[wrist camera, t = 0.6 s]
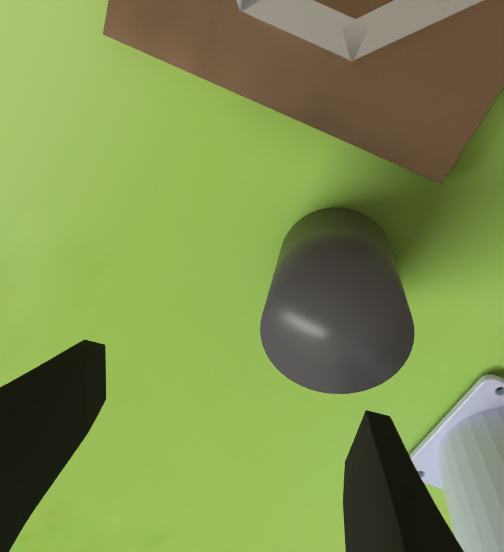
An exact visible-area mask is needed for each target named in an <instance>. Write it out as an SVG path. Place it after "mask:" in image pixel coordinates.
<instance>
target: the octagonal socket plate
mask: <svg viewBox="0 0 504 552" xmlns="http://www.w3.org/2000/svg"><path fill="white" fill-rule="evenodd" d="M103 34H104V35H106V36H108V37H110V38H113V39H115V40H117V41H120V42H122V43H124V44H126V45H129V46H131V47H133V48H135V49H138V50H140V51H142V52H144V53H147V54H149V55H151V56H153V57H156V58H158V59H160V60H162V61H165V62H167V63H169V64H171V65H174V66H176V67H178V68H180V69H183V70H185V71H187V72H190V73H192V74H194V75H196V76H199V77H201V78H203V79H205V80H208V81H210V82H212V83H214V84H217V85H219V86H221V87H223V88H226V89H228V90H230V91H232V92H235V93H237V94H239V95H241V96H244V97H246V98H248V99H250V100H253V101H255V102H257V103H260V104H262V105H264V106H266V107H269V108H271V109H273V110H275V111H278V112H280V113H282V114H284V115H287V116H289V117H291V118H293V119H296V120H298V121H300V122H302V123H305V124H307V125H309V126H311V127H314V128H316V129H318V130H320V131H323V132H325V133H327V134H330V135H332V136H334V137H336V138H339V139H341V140H343V141H345V142H348V143H350V144H352V145H354V146H357V147H359V148H361V149H363V150H366V151H368V152H370V153H372V154H375V155H377V156H379V157H381V158H384V159H386V160H388V161H390V162H393V163H395V164H397V165H400V166H402V167H404V168H406V169H409V170H411V171H413V172H415V173H418V174H420V175H422V176H424V177H427V178H429V179H431V180H433V181H436V182H438V183H440V184H442V182H443V180H444V179H445V177H446V176H447V174H448V173H449V171H450V170H451V168H452V166H453V165H454V163H455V162H456V160H457V159H458V157H459V155H460V154H461V152H462V151H463V149H464V148H465V146H466V144H467V143H468V141H469V140H470V138H471V137H472V135H473V134H474V132H475V130H476V129H477V127H478V126H479V124H480V123H481V121H482V119H483V118H484V116H485V115H486V113H487V112H488V110H489V108H490V107H491V105H492V104H493V102H494V101H495V99H496V97H497V96H498V94H499V93H500V91H501V90H502V88H503V87H504V0H109V2H108V8H107V13H106V19H105V25H104V31H103Z"/></svg>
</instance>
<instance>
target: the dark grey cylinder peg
mask: <svg viewBox="0 0 504 552" xmlns="http://www.w3.org/2000/svg"><path fill="white" fill-rule="evenodd" d="M260 333H261V340H262V344H263V347H264V350H265V352H266V354H267V356H268V357H269V359H270V361H271V362H272V363H273V365H274V366H275V367H276V368H277V369H278V370H279V371H280V372H281V373H282V374H283V375H285V376H286V377H287V378H289V379H290V380H292V381H293V382H295V383H297V384H299V385H301V386H303V387H306V388H308V389H311V390H315V391H319V392H324V393H331V394H349V393H355V392H360V391H364V390H368V389H370V388H373V387H376V386H378V385H380V384H382V383H384V382H385V381H387V380H388V379H390V378H391V377H392V376H393V375H394V374H396V373H397V372H398V371H399V370H400V368H401V367H402V366H403V365H404V363H405V362H406V360H407V359H408V357H409V355H410V352H411V350H412V346H413V342H414V324H413V320H412V316H411V313H410V309H409V306H408V303H407V299H406V296H405V293H404V290H403V286H402V283H401V280H400V276H399V273H398V270H397V267H396V263H395V260H394V257H393V253H392V250H391V247H390V243H389V241H388V239H387V236H386V235H385V233H384V231H383V230H382V229H381V228H380V226H379V225H378V224H377V223H376V222H375V221H373V220H372V219H371V218H369V217H368V216H366V215H364V214H362V213H360V212H357V211H354V210H350V209H345V208H328V209H322V210H319V211H315V212H313V213H311V214H309V215H307V216H305V217H303V218H302V219H301V220H299V221H298V222H297V223H296V224H295V225H294V226H293V227H292V228H291V229H290V231H289V232H288V233H287V235H286V237H285V239H284V241H283V244H282V247H281V251H280V254H279V258H278V261H277V265H276V268H275V272H274V275H273V279H272V282H271V286H270V290H269V293H268V297H267V300H266V304H265V307H264V311H263V314H262V319H261V326H260Z"/></svg>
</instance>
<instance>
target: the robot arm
mask: <svg viewBox="0 0 504 552" xmlns="http://www.w3.org/2000/svg"><path fill="white" fill-rule="evenodd" d="M499 387H503V388H502V389H500V390H496V389H497V388H499ZM105 400H106V361H105V345H104V344H100V343H96V342H92V341H88V340H83V341H81V342H79V343H78V344H76V345H74V346H72V347H71V348H69V349H67V350H66V351H64V352H62V353H60V354H59V355H57V356H55V357H54V358H52V359H50V360H48V361H47V362H45V363H43V364H42V365H40V366H38V367H36V368H35V369H33V370H31V371H29V372H27V373H26V374H24V375H22V376H20V377H19V378H17V379H15V380H13V381H11V382H10V383H8V384H6V385H4V386H2V387H0V552H9V550H10V549H11V547H12V545H13V544H14V542H15V540H16V538H17V537H18V535H19V533H20V531H21V530H22V528H23V526H24V525H25V523H26V522H27V520H28V519H29V517H30V515H31V514H32V512H33V511H34V509H35V508H36V506H37V505H38V504H39V502H40V501H41V499H42V498H43V496H44V495H45V494H46V492H47V491H48V489H49V488H50V487H51V485H52V484H53V482H54V481H55V479H56V478H57V477H58V475H59V474H60V472H61V471H62V470H63V468H64V467H65V465H66V464H67V462H68V461H69V460H70V458H71V457H72V455H73V454H74V452H75V451H76V450H77V448H78V447H79V445H80V444H81V442H82V441H83V439H84V438H85V436H86V435H87V434H88V432H89V430H90V428H91V427H92V425H93V423H94V421H95V419H96V417H97V416H98V414H99V412H100V410H101V408H102V406H103V404H104V402H105ZM423 482H425V483H428V484H430V485H432V486H435V487H437V488H439V489H442V490H443V492H444V496H445V499H446V503H447V507H448V511H449V515H450V519H451V523H452V527H453V531H454V535H455V536H454V535H453V533H452V531H451V530H450V528H449V527H448V525H447V523H446V522H445V520H444V518H443V517H442V515H441V513H440V511H439V510H438V508H437V506H436V505H435V503H434V501H433V499H432V497H431V495H430V494H429V492H428V490H427V488H426V486H425V485H424V483H423ZM343 510H344V528H345V545H346V552H504V379H503V378H501V377H499V376H496V375H492V374H488V375H485V376H482V377H481V378H480V379H479V380H478V381H477V382H476V383H475V384H474V385H473V386H472V388H471V389H470V390H469V391H468V392H467V393H466V394H465V395H464V396H463V397H462V398H461V400H460V401H459V402H458V403H457V404H456V405H455V406H454V407H453V408H452V409H451V410H450V412H449V413H448V414H447V415H446V416H445V417H444V418H443V419H442V420H441V421H440V422H439V424H438V425H437V426H436V427H435V428H434V429H433V430H432V431H431V432H430V433H429V434H428V436H427V437H426V438H425V439H424V440H423V441H422V442H421V443H420V444H419V445H418V446H417V447H416V449H415V450H414V451H413V452H412V453H411V454H410V455H409V454H408V452H407V450H406V448H405V446H404V444H403V442H402V440H401V438H400V436H399V434H398V432H397V429H396V427H395V425H394V423H393V421H392V419H391V418H390V416H387V415H383V414H379V413H375V412H371V411H367V410H366V412H365V414H364V416H363V419H362V421H361V424H360V426H359V429H358V431H357V434H356V436H355V439H354V441H353V444H352V446H351V449H350V451H349V454H348V456H347V459H346V461H345V473H344V491H343Z"/></svg>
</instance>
